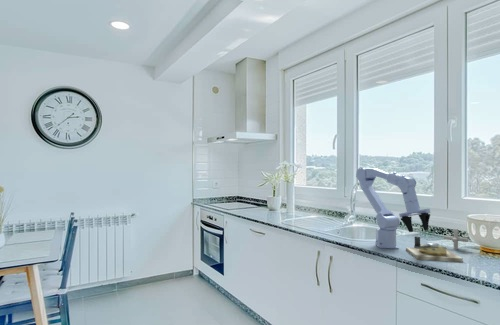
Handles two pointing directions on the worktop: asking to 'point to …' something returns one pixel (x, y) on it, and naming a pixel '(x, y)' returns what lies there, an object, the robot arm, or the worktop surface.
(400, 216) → the robot arm
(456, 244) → the pipe connector
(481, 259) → the worktop surface
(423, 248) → the crank handle
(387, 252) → the worktop surface
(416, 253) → the beige flat board
